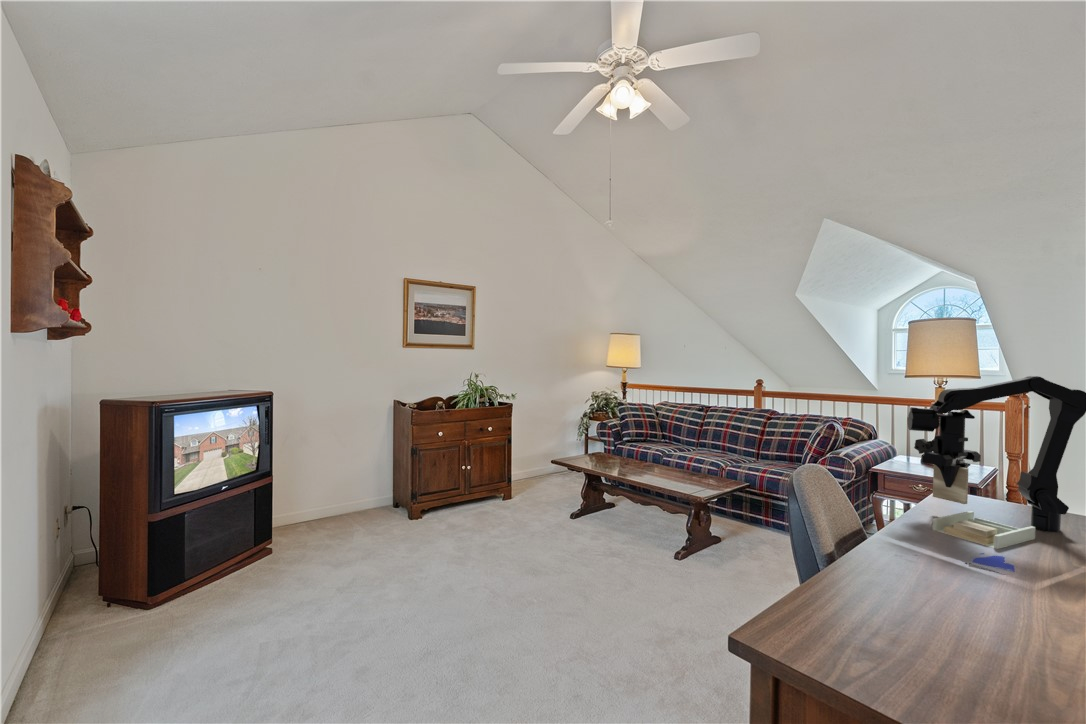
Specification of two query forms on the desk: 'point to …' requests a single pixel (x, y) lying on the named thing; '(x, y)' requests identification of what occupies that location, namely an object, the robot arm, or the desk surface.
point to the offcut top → (975, 528)
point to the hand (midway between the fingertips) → (950, 486)
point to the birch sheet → (956, 491)
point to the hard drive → (992, 563)
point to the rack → (1004, 532)
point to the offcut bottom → (969, 535)
